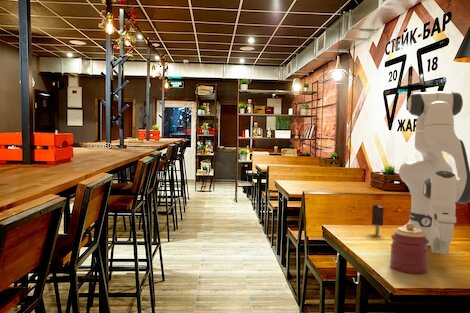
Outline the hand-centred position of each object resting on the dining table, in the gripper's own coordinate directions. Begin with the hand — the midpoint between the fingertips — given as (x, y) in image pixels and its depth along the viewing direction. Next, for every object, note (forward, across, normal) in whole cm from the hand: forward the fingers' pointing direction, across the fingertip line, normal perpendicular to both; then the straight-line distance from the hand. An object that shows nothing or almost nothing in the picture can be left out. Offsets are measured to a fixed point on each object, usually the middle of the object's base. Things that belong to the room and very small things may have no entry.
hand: (439, 247), depth 152 cm
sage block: (+2, 0, 0) cm, 2 cm away
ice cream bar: (+8, -40, -21) cm, 46 cm away
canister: (+7, +11, -12) cm, 18 cm away
